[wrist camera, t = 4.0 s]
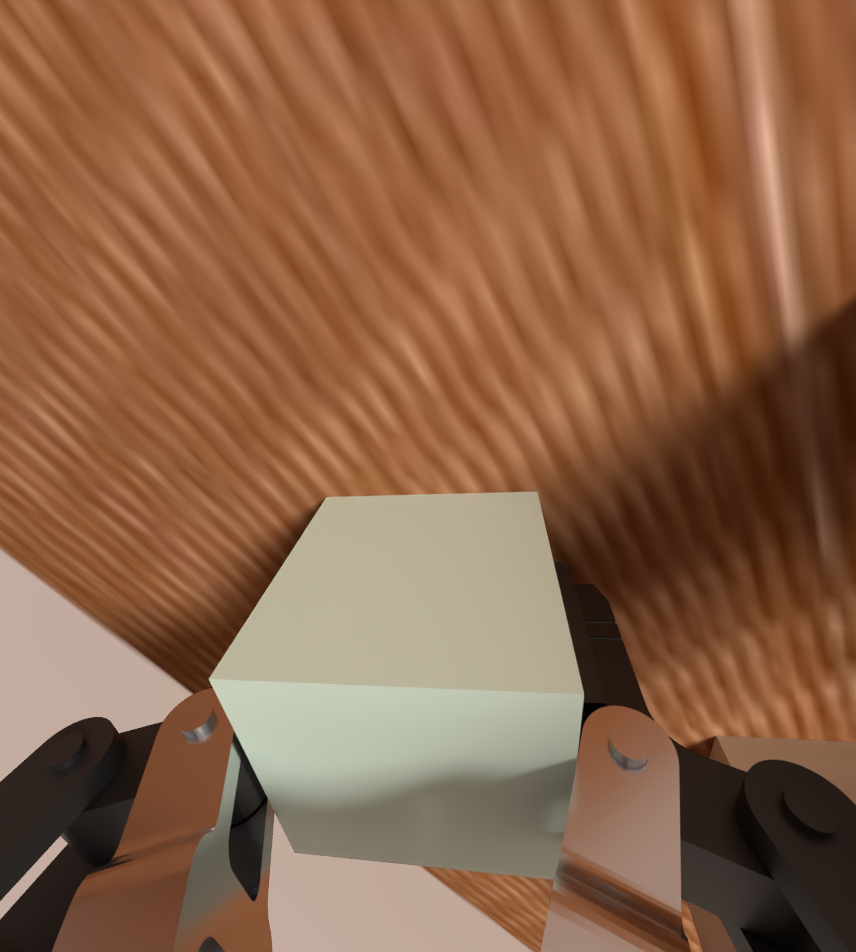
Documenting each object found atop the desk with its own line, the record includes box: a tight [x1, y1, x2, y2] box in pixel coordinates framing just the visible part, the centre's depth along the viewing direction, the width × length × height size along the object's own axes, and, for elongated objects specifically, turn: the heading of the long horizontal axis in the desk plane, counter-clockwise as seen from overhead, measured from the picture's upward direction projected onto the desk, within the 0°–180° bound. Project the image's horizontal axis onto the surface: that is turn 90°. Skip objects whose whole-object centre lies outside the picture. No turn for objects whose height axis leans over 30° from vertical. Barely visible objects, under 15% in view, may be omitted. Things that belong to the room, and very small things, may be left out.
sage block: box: [209, 492, 584, 880], centre depth 9 cm, size 5×5×5 cm
